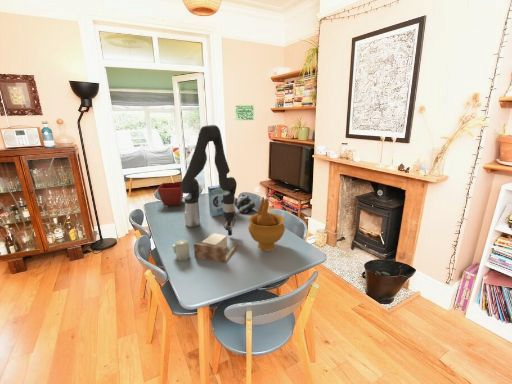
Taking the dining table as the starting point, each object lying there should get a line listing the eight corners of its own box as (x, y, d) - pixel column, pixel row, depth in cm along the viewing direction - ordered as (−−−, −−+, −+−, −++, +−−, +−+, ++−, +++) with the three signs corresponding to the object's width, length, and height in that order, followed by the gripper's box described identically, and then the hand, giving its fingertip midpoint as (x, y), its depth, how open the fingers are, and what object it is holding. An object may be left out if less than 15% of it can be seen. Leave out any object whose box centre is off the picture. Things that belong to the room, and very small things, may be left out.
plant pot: (164, 200, 234) (162, 182, 229) (186, 199, 236) (184, 182, 231) (159, 207, 216) (157, 188, 211) (182, 206, 218) (180, 187, 213)
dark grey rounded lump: (241, 215, 199) (233, 198, 199) (237, 215, 211) (230, 200, 211) (257, 207, 204) (250, 191, 204) (253, 208, 215) (246, 192, 215)
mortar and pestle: (290, 251, 146) (291, 201, 137) (254, 257, 140) (253, 205, 132) (276, 235, 165) (277, 191, 157) (244, 240, 160) (243, 194, 151)
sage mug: (172, 259, 139) (170, 244, 137) (179, 252, 146) (178, 238, 143) (185, 261, 137) (183, 246, 134) (192, 255, 143) (191, 240, 141)
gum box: (231, 209, 211) (230, 182, 204) (234, 211, 207) (233, 184, 200) (209, 214, 200) (207, 186, 194) (212, 217, 196) (210, 188, 190)
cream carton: (202, 252, 146) (201, 241, 144) (214, 243, 156) (213, 233, 154) (216, 256, 142) (215, 244, 140) (227, 246, 153) (226, 235, 151)
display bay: (194, 257, 141) (193, 244, 139) (211, 241, 158) (210, 229, 156) (224, 262, 136) (224, 249, 133) (238, 245, 153) (237, 233, 151)
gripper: (228, 205, 166) (229, 230, 171) (218, 212, 154) (220, 238, 159) (238, 206, 163) (239, 231, 168) (230, 214, 151) (231, 240, 156)
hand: (230, 235), depth 164 cm, fingers closed
